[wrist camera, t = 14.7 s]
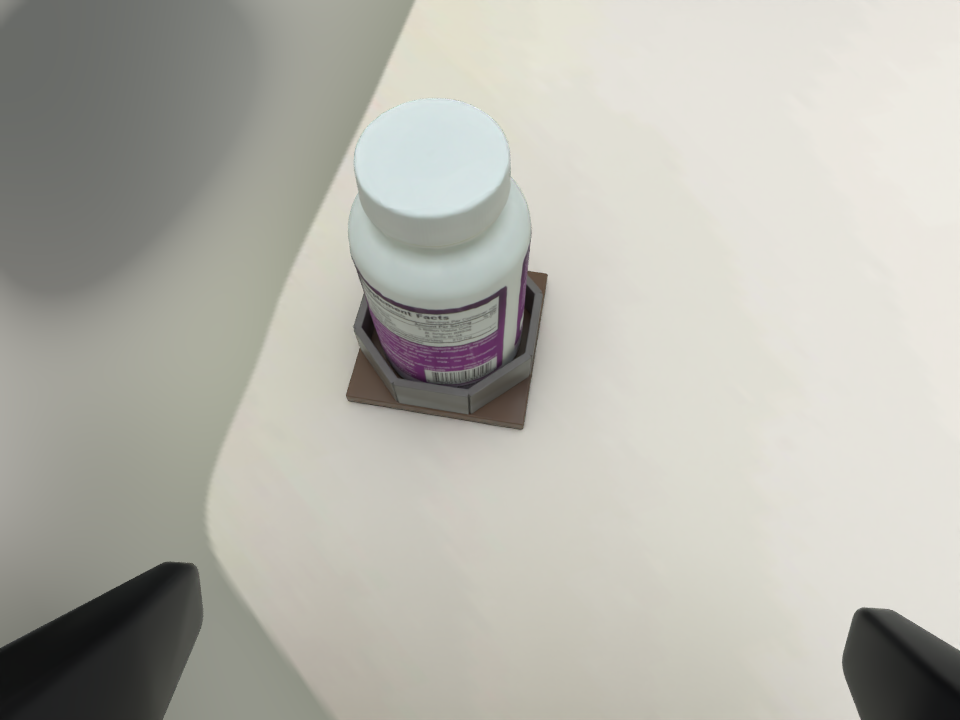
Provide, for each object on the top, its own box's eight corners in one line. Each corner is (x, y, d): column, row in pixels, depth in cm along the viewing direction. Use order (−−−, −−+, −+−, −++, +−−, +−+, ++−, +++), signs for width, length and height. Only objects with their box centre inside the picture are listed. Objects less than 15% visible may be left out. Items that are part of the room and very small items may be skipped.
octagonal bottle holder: (522, 430, 24) (525, 408, 22) (347, 400, 24) (336, 377, 22) (547, 280, 27) (551, 249, 25) (389, 257, 27) (382, 225, 25)
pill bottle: (426, 257, 27) (397, 51, 18) (544, 309, 25) (573, 116, 17) (353, 361, 25) (282, 185, 16) (478, 424, 23) (474, 271, 15)
